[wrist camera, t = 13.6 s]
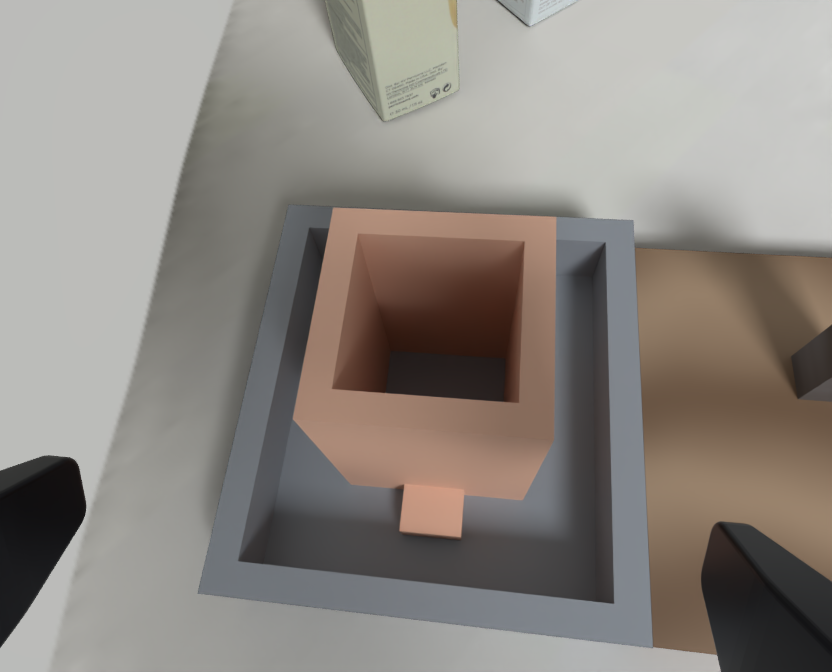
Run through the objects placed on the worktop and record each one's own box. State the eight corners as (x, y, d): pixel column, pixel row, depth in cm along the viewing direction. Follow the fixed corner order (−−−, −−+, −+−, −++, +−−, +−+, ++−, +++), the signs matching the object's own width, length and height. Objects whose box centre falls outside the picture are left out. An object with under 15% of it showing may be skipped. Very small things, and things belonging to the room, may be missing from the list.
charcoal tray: (623, 642, 20) (653, 648, 16) (235, 596, 21) (197, 593, 18) (613, 266, 25) (633, 220, 22) (308, 250, 27) (288, 204, 24)
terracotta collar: (521, 546, 20) (553, 509, 13) (344, 528, 21) (280, 483, 14) (527, 340, 23) (556, 216, 16) (372, 330, 24) (333, 207, 17)
